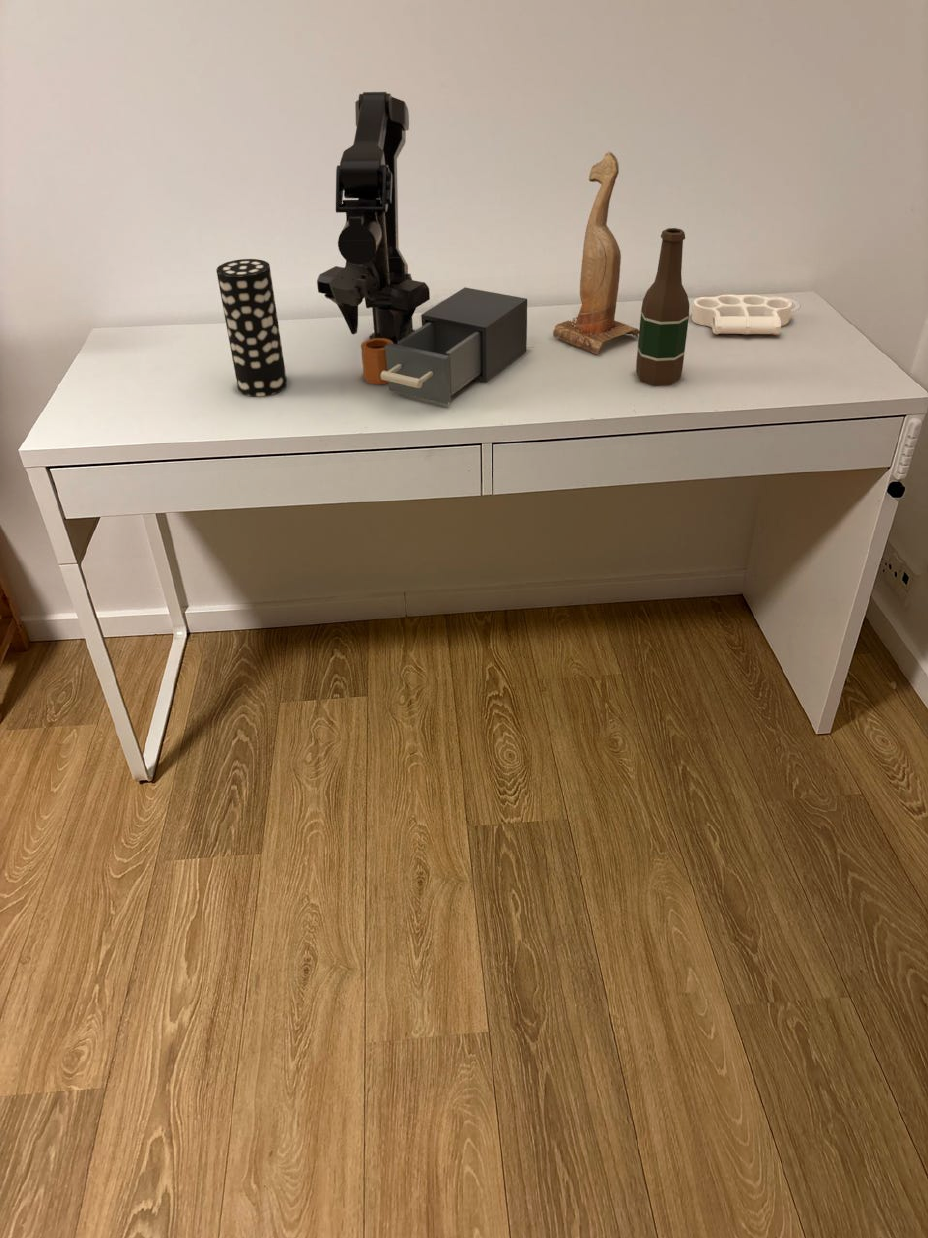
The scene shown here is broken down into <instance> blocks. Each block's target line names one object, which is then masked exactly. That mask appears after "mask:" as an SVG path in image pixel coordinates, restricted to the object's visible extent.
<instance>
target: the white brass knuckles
mask: <svg viewBox="0 0 928 1238" xmlns="http://www.w3.org/2000/svg"><path fill="white" fill-rule="evenodd" d="M792 307H793V303H792V301H790V300H789V299H787V298H784V297H779V296H778V297H777V296H776V297H769V296H762V295H759V294H751V293H750V294H749V293H748V294H732V293H729V294H721V295H718V296H701V297H697V298H695V299H694V301H693V303H692V311H691V321H692V322H693V323H695V324H697V325H699V326H704V327H709V328H711V329H712V333H713V334H714V335H719V334H725V335H726V334H727V335H728V334H729V335H730V334H734V335H735V334H736V335H744V336H745V335H746V336H747V335H773V336H777V335H780V334H781V332H782V331H781V330H782V327H783V326H786V325H788V324H789V323H790V319H791V314H792Z"/></svg>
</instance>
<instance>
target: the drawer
mask: <svg viewBox="0 0 928 1238" xmlns="http://www.w3.org/2000/svg"><path fill="white" fill-rule="evenodd" d="M414 330H415V331H414V332H412V333H411V334H409V335H408V336H406V337H404V338H403V339H401V340H400V341H398V342H397V343H398V345H396V344H392V343H388V344H387V345H385V351H386V363H387V371H382V373H381V379H382V380H386V381H388V383H387V387H388V391H389V392H392V393H397V394H402V395H406V396H410V397H414V398H418V399H422V400H427V401H431V402H435V403H439V404H443V405H450V403H452V396H453V395H454V394H456V393H457V392H459V391H460V390H461V389H463V388H464V387H465V386H467V385H468V384H469V383H471V382H472V381H473V380H474V378H476V377H477V376H478V375H480V374H481V373H482V372H483V360H482V331H478V330H473V329H468V328H463V327H458V326H453V325H448V324H443V323H438V322H433V321H429V322H428V323H426V324H425V325H423V326H422V325H421V326H420V327H419V328H417V329H414Z"/></svg>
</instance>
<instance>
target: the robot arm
mask: <svg viewBox="0 0 928 1238" xmlns="http://www.w3.org/2000/svg"><path fill="white" fill-rule="evenodd" d="M358 94H359V95H358V100H356V101H355V105H354V106H355V107H354V109H355V127H356V129H355V133H354V140H353V143H352V145H351V146H349V147H347V149H345V150H344V151H343V152H342V155H341V158H340V162H339V164H338V165H336V168H335V213H336V214H337V213H340V214H341V213H345V216H346V217H345V219H346V221H345V223H344V226H343V228H342V230H341V231H340V233H339V236H338V240H337V247H338V251H339V253H340V255H341V256H342V258H343V259H344V260H345V266H344V267H342V266H337V265H335V266H333V267H330V269H327V270H325V271H323V272H322V273H320V274H318V277H317V279H316V286H317V292H318V293H319V294H324V297H325V299H328V300H330V301H332V302H333V303H334V304H336V305H337V307H338V309H339V311H340V313H341V314H342V317H343V318H344V321H345V323H346V325H347V328H348V329H349V331H350V333H351V335H356V334H357V333H358V328H359V327H358V326H359V306H360V305H361V304H362V303H363V301H364V303H365V308H366V309H371V311H372V321H373V333H372V334H370V335H369V339H373V338H385V339H389V340H391V341H392V342H393V344H396V345H398V343H397V342H398V341H400V340H401V339H403V338H404V337H406V336H408V335H409V334H411V333H412V332H414V331H415V330H416V329H414V328H413V327H414V326H413V316H414V313H415V311H416V310H417V308H418V307H420V306H422V305H423V304H425V303H427V302H428V301H429V300H431V295H430V294H431V293H430V287H429V285H428V284H427V283H426V282H424V281H420V280H419V281H418V280H413V278H412V274H411V273H409V265H408V262H407V260H406V259H405V257H404V256H403V254H402V252H401V251H400V247H399V197H398V193H399V192H398V158H399V156H400V154H401V152H402V151H403V148H404V147H405V145H406V141H407V139H406V138H407V137H406V133H407V131H409V130H410V115H409V108H408V105H407V103H406V101H404V100H402V99H399V98H396V97H394V96H393V95H392V94H391V93H388V92H387V91H363V93H358Z"/></svg>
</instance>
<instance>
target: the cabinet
mask: <svg viewBox="0 0 928 1238" xmlns="http://www.w3.org/2000/svg"><path fill="white" fill-rule="evenodd" d="M420 317H421V319H420V320H421V327H422V326H423V325H425V324H426V323H428V322H429V321H433V322H438V323H443V324H448V325H453V326H458V327H463V328H468V329H473V330H478V331H482V360H483V372H482V373H481V374H480V375H478V376H477V377H476V378H474V379H473V380H474V381H479V382H483V383H488V382H490V381H491V380H492V379H493V378H494V377H496V376H498V374H500V373H501V372H502V371H504V370H505V369H506V368H507V367H509V366H510V365H511V364H512V363H514V362H515V361H516V360H518V359H519V358H520V357H521V356H522V355H524V354H525V353H527V349H528V348H527V347H528V346H527V345H528V343H527V342H528V339H527V338H528V298H525V297H521V296H514V295H510V294H504V293H499V292H493V291H486V290H481V289H477V288H470V287H466V286H465V287H463V288H461V289H460V290H458V291H456V292H455V293H454V294H452V295H450V296H449V297H447V298H445V299H444V300H442V301H440V302H439V303H437V304H436V305H434V306H433V307H431V308H429V309H428V310H426V311H425V312H423V313H421V314H420Z"/></svg>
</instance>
